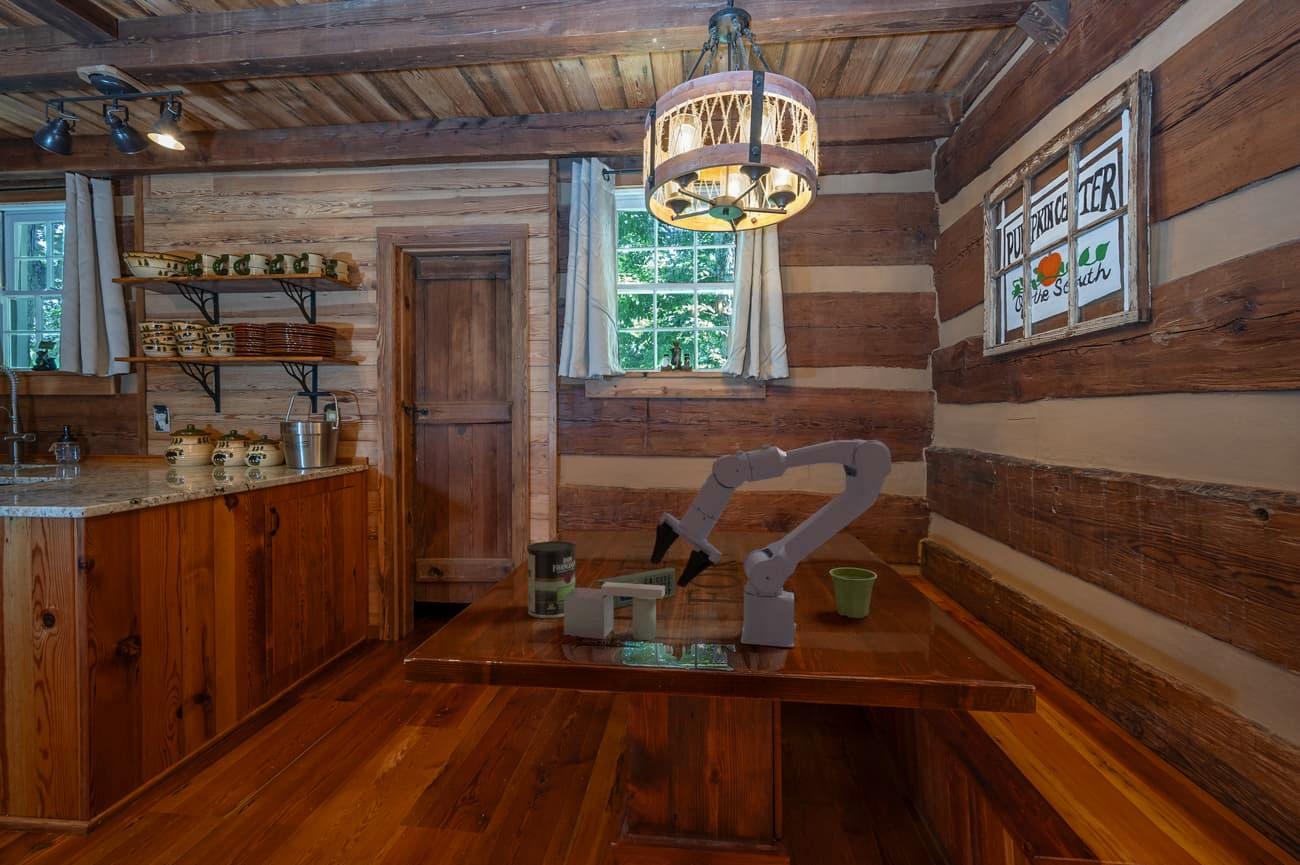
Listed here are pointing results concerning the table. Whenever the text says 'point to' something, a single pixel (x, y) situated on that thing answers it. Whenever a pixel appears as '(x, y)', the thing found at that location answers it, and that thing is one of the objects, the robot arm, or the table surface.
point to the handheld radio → (648, 578)
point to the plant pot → (853, 591)
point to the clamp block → (588, 613)
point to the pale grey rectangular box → (633, 590)
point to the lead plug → (644, 618)
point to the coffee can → (550, 577)
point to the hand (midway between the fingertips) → (667, 573)
